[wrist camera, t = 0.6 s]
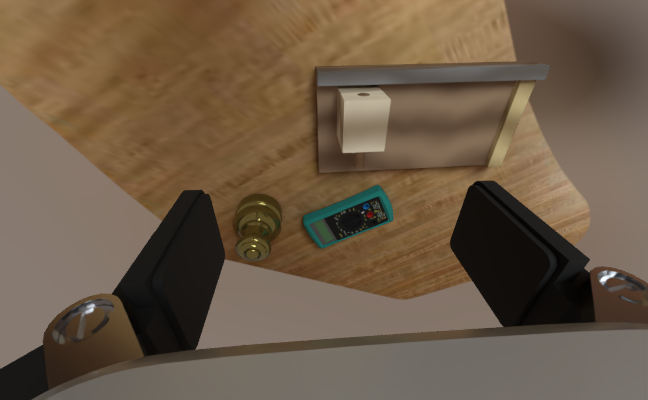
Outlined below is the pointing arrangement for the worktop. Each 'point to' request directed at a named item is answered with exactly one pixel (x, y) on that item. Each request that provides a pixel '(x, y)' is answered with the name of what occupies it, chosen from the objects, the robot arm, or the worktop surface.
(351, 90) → the block with top hole
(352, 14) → the worktop surface
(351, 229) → the digital multimeter
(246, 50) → the worktop surface
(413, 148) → the board
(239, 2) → the worktop surface
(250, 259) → the brass pawn finial
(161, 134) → the worktop surface
